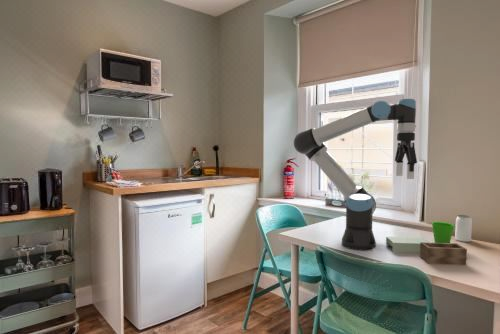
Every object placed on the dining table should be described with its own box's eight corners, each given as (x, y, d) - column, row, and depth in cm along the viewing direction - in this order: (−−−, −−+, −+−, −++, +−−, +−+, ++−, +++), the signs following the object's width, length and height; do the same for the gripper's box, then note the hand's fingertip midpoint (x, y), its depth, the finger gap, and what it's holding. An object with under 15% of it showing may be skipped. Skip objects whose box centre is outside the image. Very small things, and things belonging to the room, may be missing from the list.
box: (427, 265, 120) (428, 247, 119) (419, 258, 126) (420, 242, 126) (466, 266, 118) (466, 249, 117) (456, 260, 125) (456, 243, 124)
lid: (392, 252, 132) (393, 242, 132) (386, 246, 141) (386, 236, 141) (432, 254, 131) (432, 243, 130) (422, 247, 140) (422, 237, 139)
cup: (432, 243, 146) (433, 220, 146) (454, 247, 141) (455, 223, 140) (428, 248, 139) (429, 224, 139) (452, 252, 134) (453, 227, 133)
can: (473, 242, 147) (474, 218, 146) (458, 241, 149) (459, 217, 148) (467, 238, 154) (468, 215, 153) (452, 237, 155) (453, 214, 154)
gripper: (426, 131, 131) (424, 180, 133) (404, 133, 156) (402, 174, 157) (408, 131, 132) (406, 180, 134) (388, 133, 157) (387, 174, 158)
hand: (404, 177), depth 145 cm, fingers open, 13 cm apart
